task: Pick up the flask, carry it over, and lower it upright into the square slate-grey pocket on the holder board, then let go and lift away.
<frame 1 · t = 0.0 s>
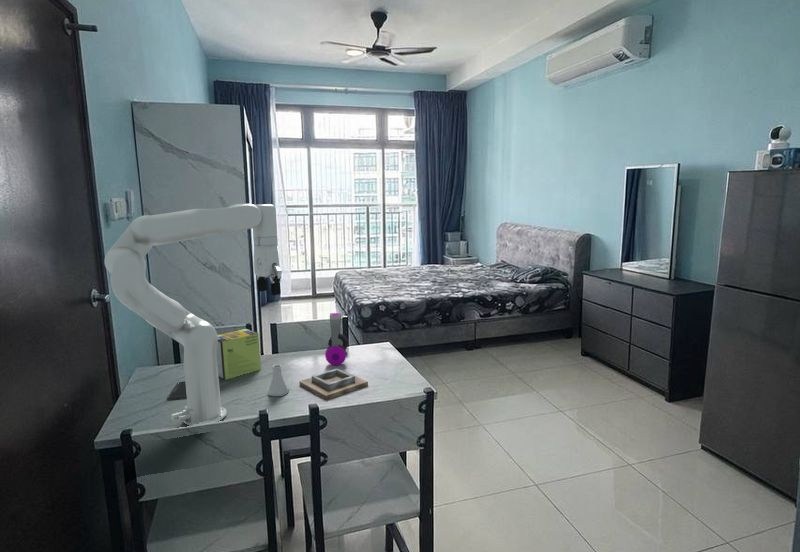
hand: (269, 292, 154), 37 cm above the table, tool pointing down, fingers open, 9 cm apart
holder: (333, 385, 169), on the table
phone: (184, 392, 167), on the table
protein box: (237, 372, 185), on the table
headphones: (337, 358, 199), on the table
flask: (278, 393, 163), on the table
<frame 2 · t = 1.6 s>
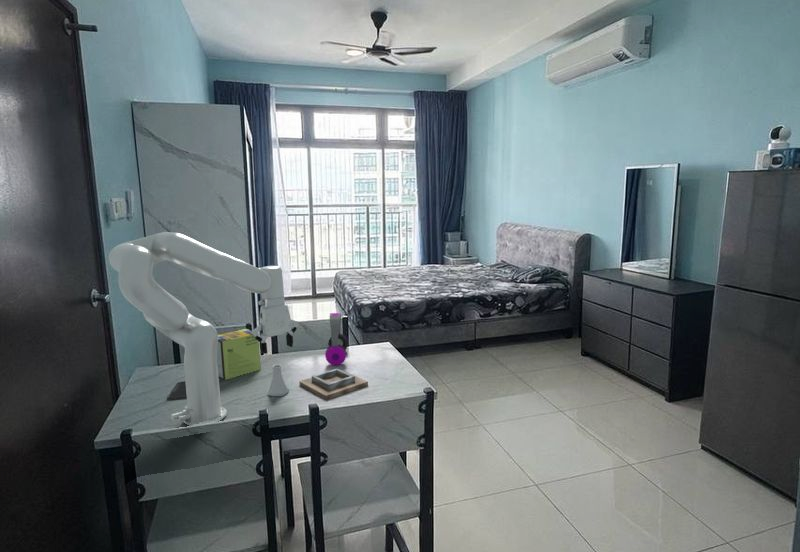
hand: (277, 349, 161), 16 cm above the table, tool pointing down, fingers open, 9 cm apart
nothing on the table moved.
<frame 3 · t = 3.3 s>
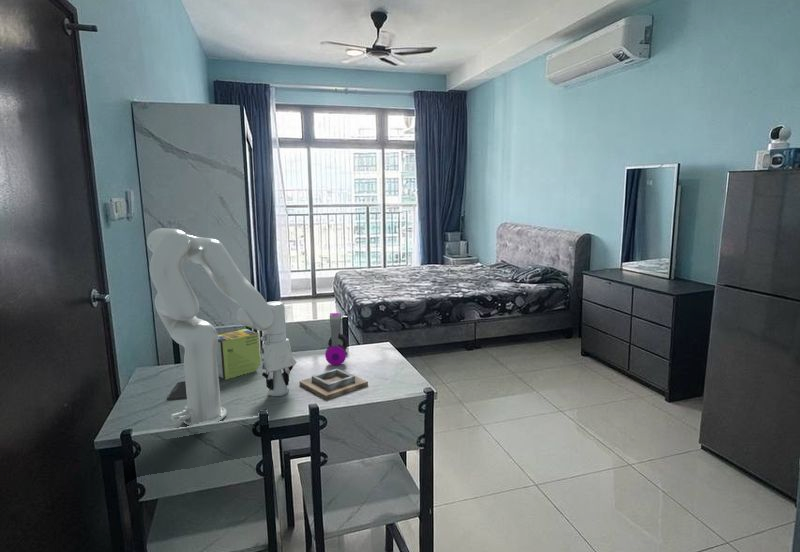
hand: (278, 386, 163), 2 cm above the table, tool pointing down, fingers closed on flask, 5 cm apart
flask: (278, 393, 163), on the table, touching gripper
everything else where it was.
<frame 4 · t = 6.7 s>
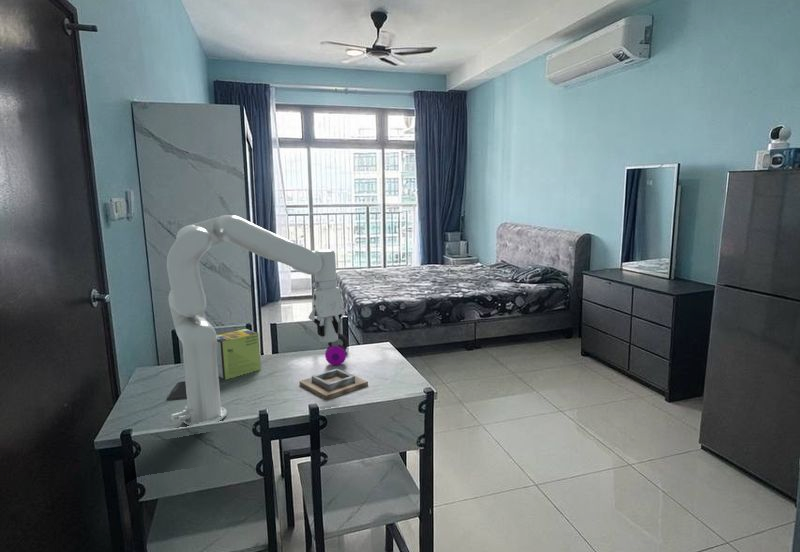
hand: (328, 333, 166), 20 cm above the table, tool pointing down, fingers closed on flask, 5 cm apart
flask: (328, 340, 166), point 17 cm above the table, touching gripper
everything else where it was.
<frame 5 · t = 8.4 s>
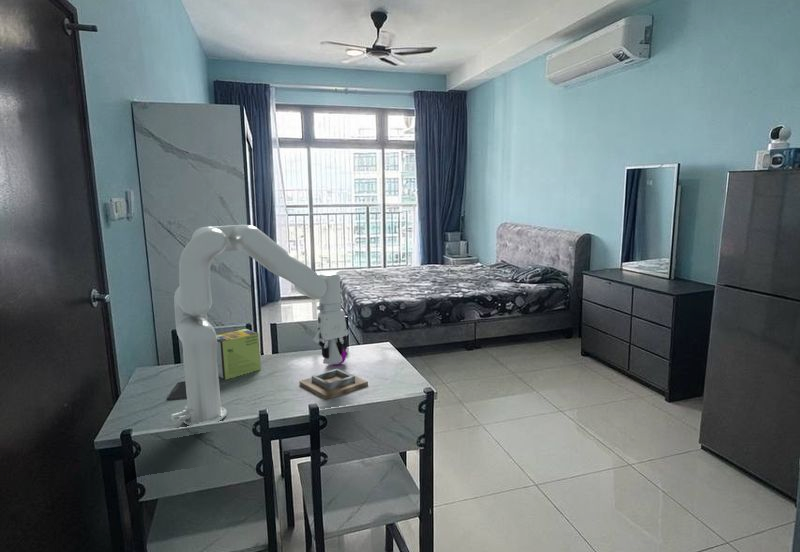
hand: (332, 355, 167), 11 cm above the table, tool pointing down, fingers closed on flask, 5 cm apart
flask: (332, 362, 168), point 9 cm above the table, touching gripper
everything else where it was.
when the fingers open (5 cm above the table, at t = 9.9 s): flask drops 1 cm, resting on holder.
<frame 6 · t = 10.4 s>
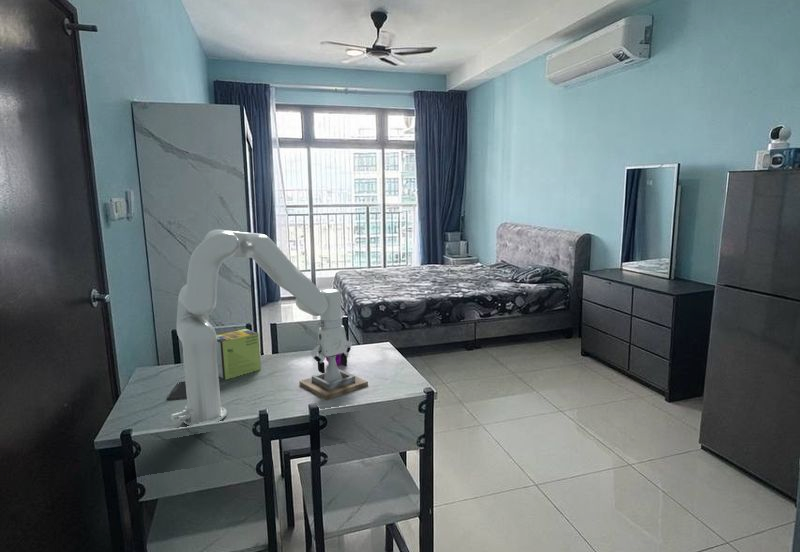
hand: (332, 368, 168), 6 cm above the table, tool pointing down, fingers open, 9 cm apart
flask: (332, 382, 169), point 1 cm above the table, touching holder
everything else where it was.
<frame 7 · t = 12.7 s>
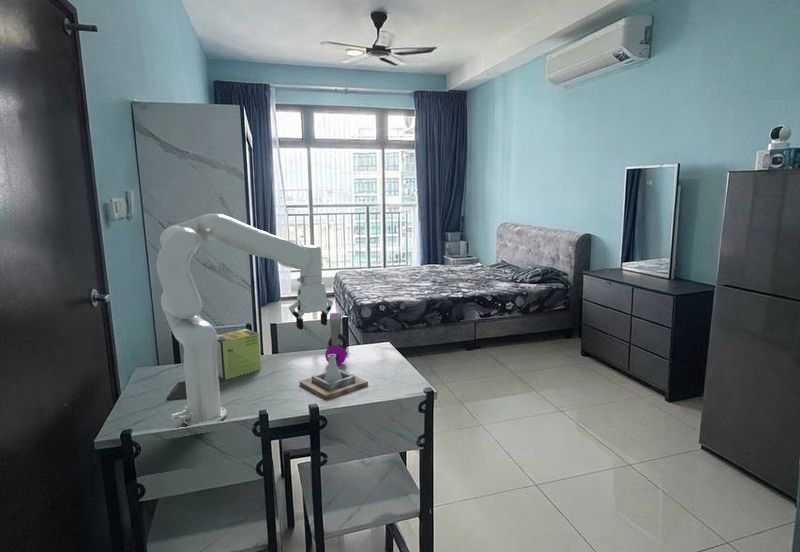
hand: (312, 326, 166), 22 cm above the table, tool pointing down, fingers open, 9 cm apart
nothing on the table moved.
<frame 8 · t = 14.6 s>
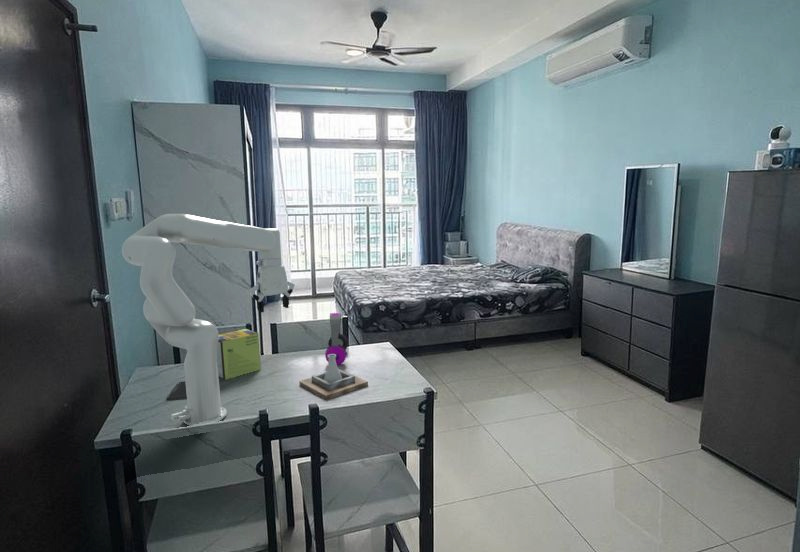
hand: (273, 309, 167), 28 cm above the table, tool pointing down, fingers open, 9 cm apart
nothing on the table moved.
at the end: flask 0.2 cm off-centre on the holder, point 1.3 cm above the holder's base; flask tilted 0°; the gripper is holding nothing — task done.
